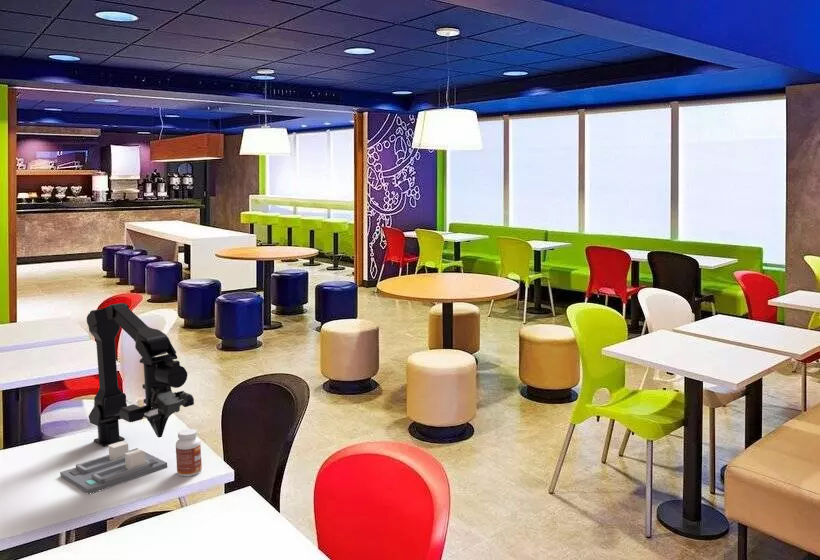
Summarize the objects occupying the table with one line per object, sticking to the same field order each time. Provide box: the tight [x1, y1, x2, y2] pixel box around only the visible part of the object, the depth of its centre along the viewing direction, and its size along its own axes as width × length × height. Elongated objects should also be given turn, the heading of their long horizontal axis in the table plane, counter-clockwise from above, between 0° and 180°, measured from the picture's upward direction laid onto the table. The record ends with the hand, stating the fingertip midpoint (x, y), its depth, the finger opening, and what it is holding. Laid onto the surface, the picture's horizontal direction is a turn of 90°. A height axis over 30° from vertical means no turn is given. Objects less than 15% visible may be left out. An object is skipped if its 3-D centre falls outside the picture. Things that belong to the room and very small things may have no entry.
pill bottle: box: [175, 428, 203, 477], centre depth 180 cm, size 6×6×11 cm
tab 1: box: [107, 440, 130, 460], centre depth 187 cm, size 3×4×4 cm
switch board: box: [59, 447, 168, 495], centre depth 182 cm, size 16×21×2 cm
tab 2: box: [125, 448, 146, 469], centre depth 181 cm, size 3×4×4 cm
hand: (159, 436), depth 186 cm, fingers closed
